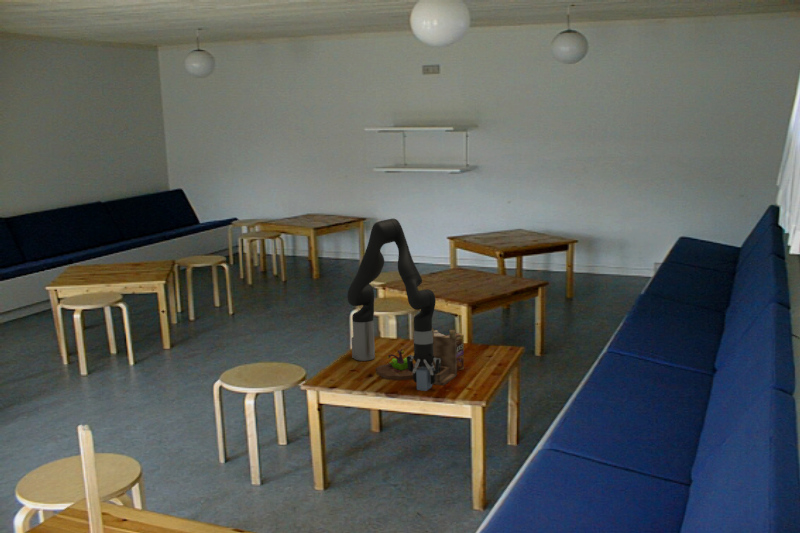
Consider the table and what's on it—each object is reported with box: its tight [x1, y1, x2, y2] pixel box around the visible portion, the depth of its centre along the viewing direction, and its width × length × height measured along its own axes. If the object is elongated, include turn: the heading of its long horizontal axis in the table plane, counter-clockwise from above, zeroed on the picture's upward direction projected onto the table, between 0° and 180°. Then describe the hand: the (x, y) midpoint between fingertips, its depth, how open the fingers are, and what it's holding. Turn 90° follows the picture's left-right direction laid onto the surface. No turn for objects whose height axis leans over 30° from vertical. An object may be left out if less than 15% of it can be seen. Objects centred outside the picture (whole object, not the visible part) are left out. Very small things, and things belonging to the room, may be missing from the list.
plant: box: [375, 348, 420, 381], centre depth 312 cm, size 20×20×11 cm
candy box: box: [445, 332, 465, 372], centre depth 314 cm, size 9×4×15 cm, turn 123°
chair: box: [432, 327, 458, 386], centre depth 303 cm, size 12×14×19 cm
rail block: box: [416, 367, 433, 392], centre depth 293 cm, size 4×7×8 cm, turn 155°
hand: (424, 382), depth 293 cm, fingers open, 6 cm apart
